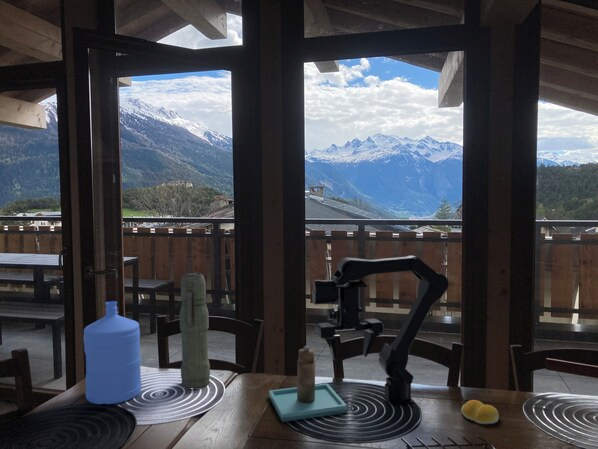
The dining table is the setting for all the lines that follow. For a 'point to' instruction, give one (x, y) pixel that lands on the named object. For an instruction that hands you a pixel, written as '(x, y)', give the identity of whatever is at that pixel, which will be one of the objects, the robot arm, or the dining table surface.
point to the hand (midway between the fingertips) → (349, 358)
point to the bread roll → (480, 412)
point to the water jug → (112, 358)
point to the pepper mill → (306, 376)
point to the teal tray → (294, 410)
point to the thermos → (194, 332)
